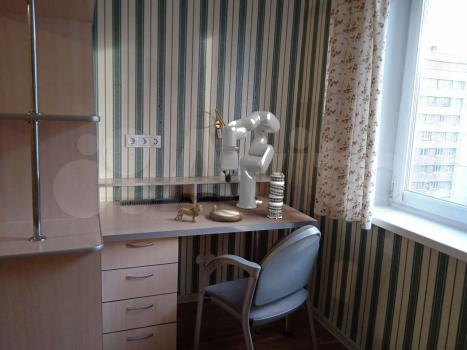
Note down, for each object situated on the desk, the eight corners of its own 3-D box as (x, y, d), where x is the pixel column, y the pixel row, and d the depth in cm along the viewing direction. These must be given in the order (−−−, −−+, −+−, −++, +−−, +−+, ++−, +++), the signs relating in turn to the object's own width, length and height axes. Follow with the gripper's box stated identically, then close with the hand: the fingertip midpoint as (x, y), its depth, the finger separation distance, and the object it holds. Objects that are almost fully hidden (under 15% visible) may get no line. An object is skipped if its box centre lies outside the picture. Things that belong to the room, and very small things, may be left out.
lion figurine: (202, 220, 193) (203, 203, 191) (201, 223, 187) (202, 206, 186) (174, 219, 193) (175, 202, 191) (173, 221, 187) (173, 204, 186)
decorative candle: (263, 215, 208) (265, 171, 204) (275, 214, 213) (278, 171, 209) (273, 219, 200) (276, 174, 197) (286, 218, 206) (289, 173, 202)
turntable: (219, 210, 211) (220, 202, 210) (248, 215, 203) (248, 207, 202) (203, 217, 195) (203, 208, 195) (233, 223, 187) (233, 213, 187)
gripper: (240, 148, 207) (238, 180, 210) (214, 148, 202) (213, 181, 205) (244, 150, 200) (242, 183, 203) (217, 149, 195) (216, 183, 198)
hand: (227, 182), depth 204 cm, fingers closed
